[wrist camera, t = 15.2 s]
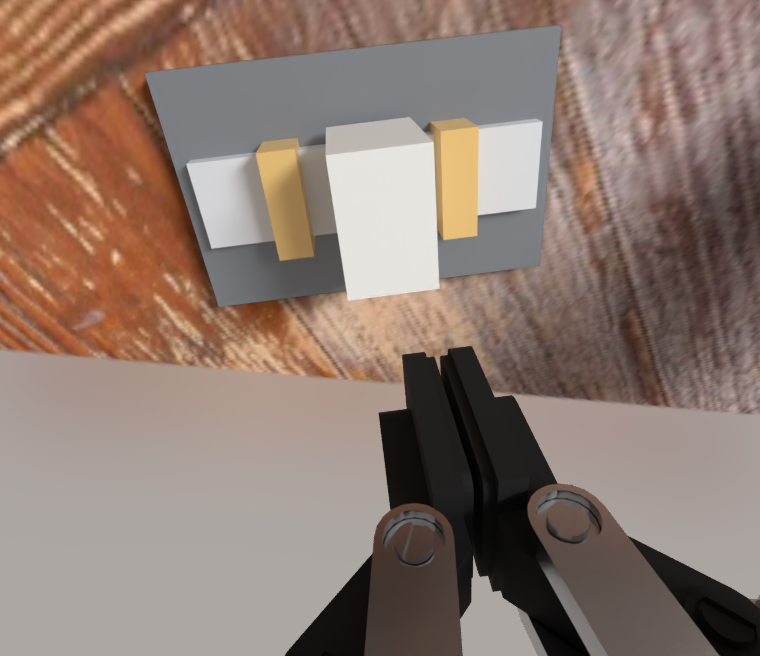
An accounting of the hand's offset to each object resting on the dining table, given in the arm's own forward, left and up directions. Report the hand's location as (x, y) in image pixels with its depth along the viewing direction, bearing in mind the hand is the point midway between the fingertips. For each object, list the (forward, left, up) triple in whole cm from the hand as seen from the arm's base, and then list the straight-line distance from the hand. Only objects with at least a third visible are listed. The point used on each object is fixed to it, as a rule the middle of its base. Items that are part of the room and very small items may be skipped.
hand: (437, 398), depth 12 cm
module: (0, 0, -19) cm, 19 cm away
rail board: (0, 0, -22) cm, 22 cm away
